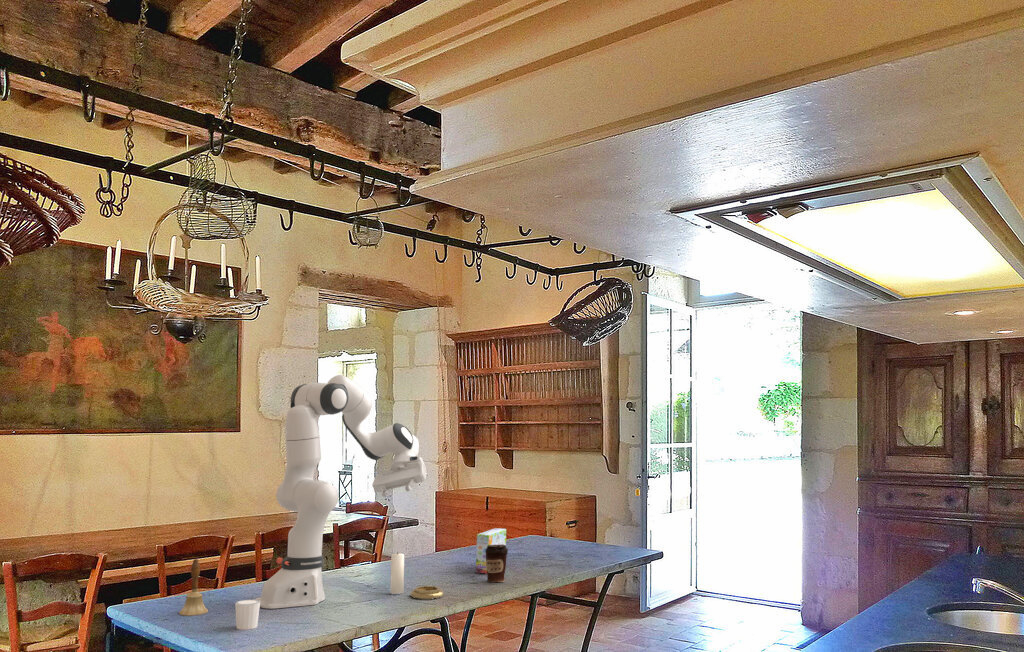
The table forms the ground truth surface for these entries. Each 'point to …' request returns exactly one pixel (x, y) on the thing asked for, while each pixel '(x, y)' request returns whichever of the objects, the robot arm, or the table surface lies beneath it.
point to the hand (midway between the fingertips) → (395, 492)
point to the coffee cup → (496, 562)
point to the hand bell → (194, 595)
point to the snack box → (484, 539)
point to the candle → (397, 573)
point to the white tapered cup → (247, 614)
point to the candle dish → (427, 592)
